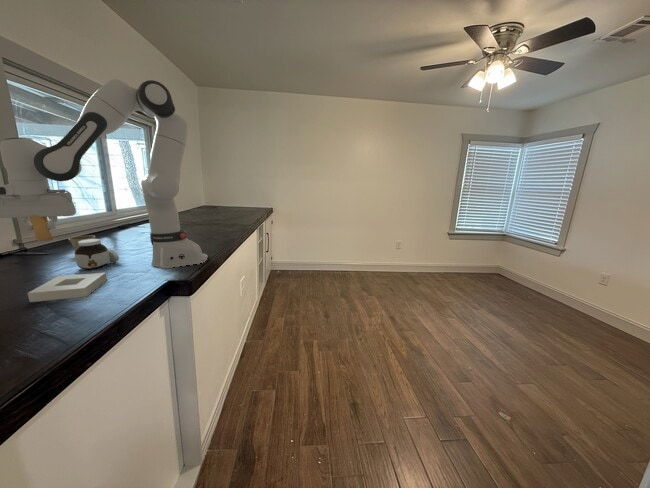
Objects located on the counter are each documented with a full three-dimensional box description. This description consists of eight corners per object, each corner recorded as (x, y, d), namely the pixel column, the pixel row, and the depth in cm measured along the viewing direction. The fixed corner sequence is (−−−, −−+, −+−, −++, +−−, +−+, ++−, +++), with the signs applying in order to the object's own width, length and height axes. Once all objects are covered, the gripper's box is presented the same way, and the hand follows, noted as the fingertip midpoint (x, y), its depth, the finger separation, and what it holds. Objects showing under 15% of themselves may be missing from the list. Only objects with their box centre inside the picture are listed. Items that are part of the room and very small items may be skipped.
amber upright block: (55, 238, 93) (49, 213, 91) (48, 240, 89) (41, 215, 87) (41, 238, 92) (34, 213, 89) (33, 241, 88) (25, 215, 86)
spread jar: (74, 271, 103) (67, 243, 100) (91, 262, 114) (85, 237, 111) (110, 269, 106) (104, 242, 103) (122, 260, 117) (118, 235, 114)
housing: (107, 280, 95) (105, 272, 95) (86, 296, 82) (84, 287, 82) (59, 284, 91) (57, 276, 90) (30, 302, 78) (27, 293, 77)
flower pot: (77, 253, 126) (73, 236, 124) (101, 251, 130) (98, 234, 128) (68, 258, 118) (64, 240, 116) (94, 256, 122) (90, 238, 120)
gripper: (75, 188, 92) (83, 226, 96) (-1, 188, 86) (11, 229, 89) (64, 189, 86) (73, 230, 90) (-19, 189, 80) (-5, 233, 84)
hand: (42, 229), depth 90 cm, fingers closed on amber upright block, 4 cm apart
